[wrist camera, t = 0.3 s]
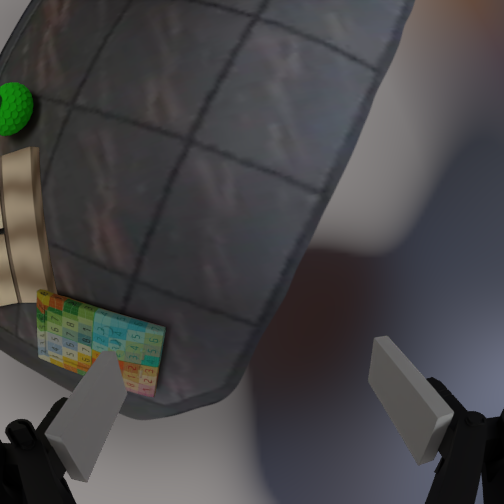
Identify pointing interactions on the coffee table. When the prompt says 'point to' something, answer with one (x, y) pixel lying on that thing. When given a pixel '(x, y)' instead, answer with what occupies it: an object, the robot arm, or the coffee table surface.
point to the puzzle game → (98, 340)
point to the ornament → (14, 108)
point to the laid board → (25, 224)
